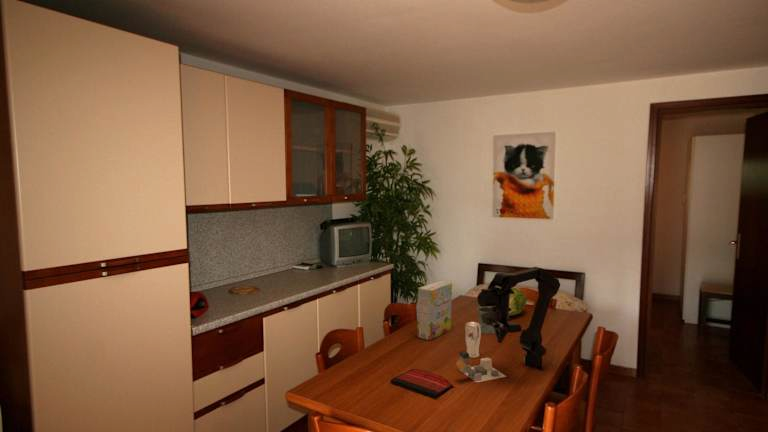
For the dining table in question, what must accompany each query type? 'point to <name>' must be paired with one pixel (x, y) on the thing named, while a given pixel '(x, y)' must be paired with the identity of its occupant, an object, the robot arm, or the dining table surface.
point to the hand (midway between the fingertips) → (499, 342)
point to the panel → (486, 377)
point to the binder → (422, 383)
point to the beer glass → (472, 338)
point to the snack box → (434, 310)
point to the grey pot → (484, 328)
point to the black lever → (464, 356)
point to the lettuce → (516, 302)
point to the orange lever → (465, 367)
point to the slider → (486, 363)
